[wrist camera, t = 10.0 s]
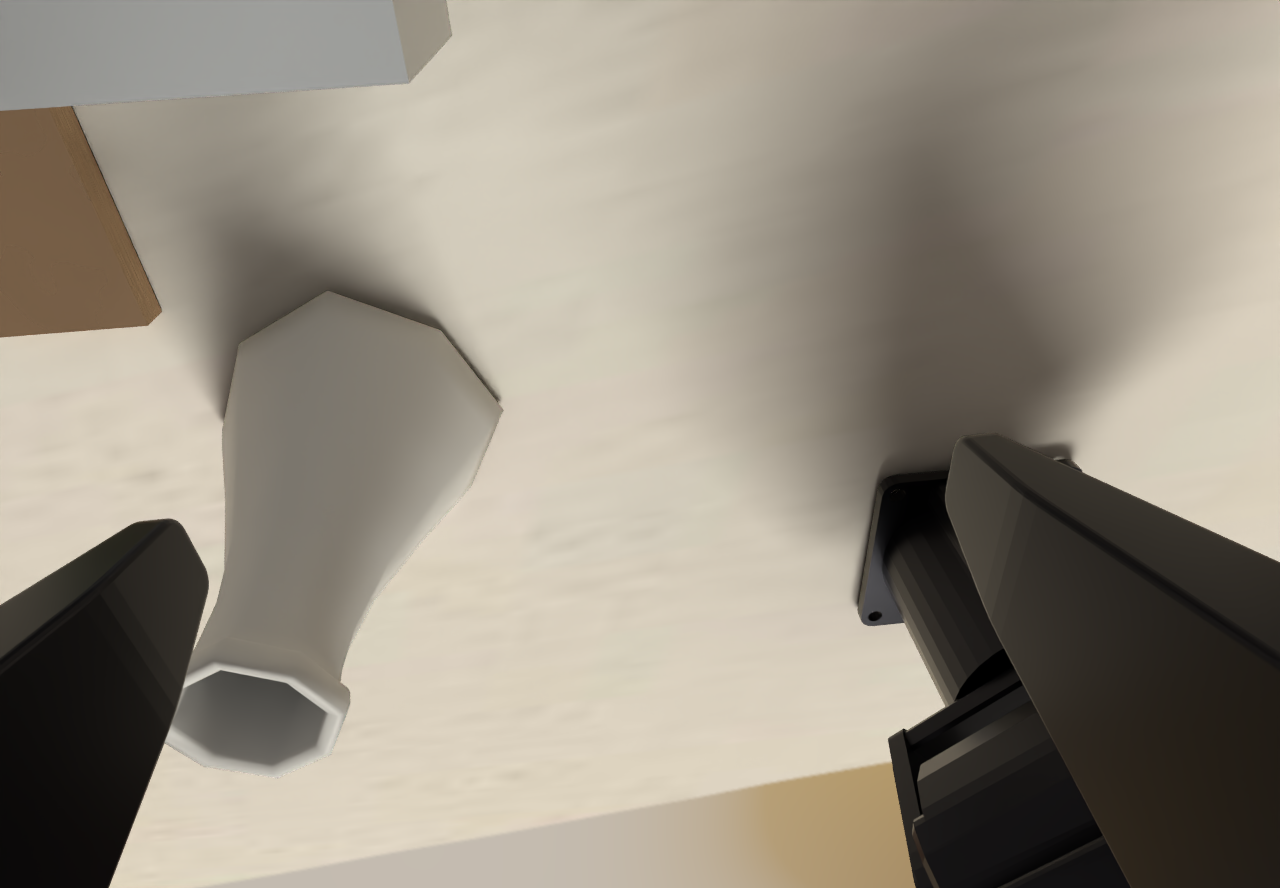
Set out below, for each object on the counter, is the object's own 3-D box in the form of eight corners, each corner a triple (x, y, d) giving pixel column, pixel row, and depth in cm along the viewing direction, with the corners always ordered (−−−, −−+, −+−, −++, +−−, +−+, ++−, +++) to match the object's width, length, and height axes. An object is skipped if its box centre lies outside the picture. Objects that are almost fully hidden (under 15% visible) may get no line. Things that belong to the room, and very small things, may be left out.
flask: (178, 427, 21) (-63, 753, 13) (316, 236, 18) (122, 494, 10) (404, 549, 24) (325, 871, 16) (549, 401, 22) (543, 698, 13)
